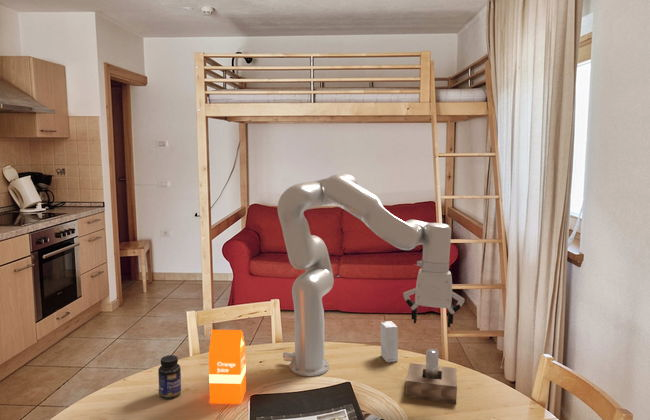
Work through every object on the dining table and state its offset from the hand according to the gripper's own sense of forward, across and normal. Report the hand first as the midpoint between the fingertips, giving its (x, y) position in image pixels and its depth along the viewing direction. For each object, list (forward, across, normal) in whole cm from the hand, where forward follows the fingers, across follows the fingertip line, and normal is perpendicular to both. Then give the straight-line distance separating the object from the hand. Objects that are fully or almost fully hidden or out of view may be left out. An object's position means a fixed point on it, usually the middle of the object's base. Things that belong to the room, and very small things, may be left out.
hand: (431, 323), depth 143 cm
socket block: (+20, +1, 0) cm, 20 cm away
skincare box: (+21, -14, +19) cm, 31 cm away
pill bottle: (+22, -72, -22) cm, 78 cm away
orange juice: (+22, -55, -19) cm, 62 cm away
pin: (+19, +1, 0) cm, 19 cm away
